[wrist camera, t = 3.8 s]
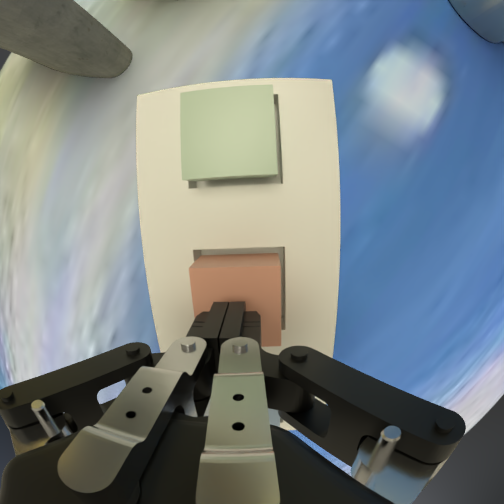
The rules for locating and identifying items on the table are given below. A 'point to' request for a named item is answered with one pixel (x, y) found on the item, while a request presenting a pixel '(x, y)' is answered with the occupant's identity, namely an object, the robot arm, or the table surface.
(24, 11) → the hip flask
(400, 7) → the table surface
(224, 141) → the key sage
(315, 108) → the button panel
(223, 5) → the table surface
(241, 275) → the key terracotta
